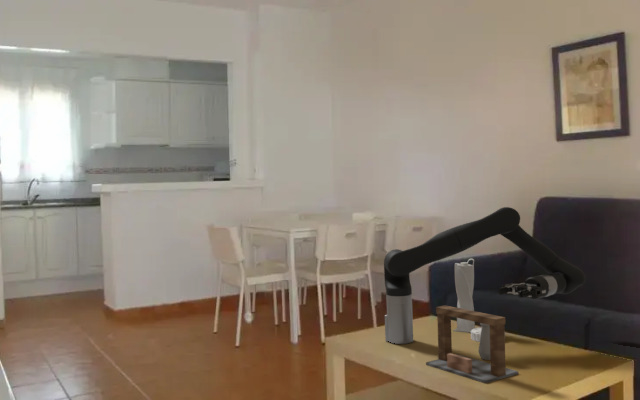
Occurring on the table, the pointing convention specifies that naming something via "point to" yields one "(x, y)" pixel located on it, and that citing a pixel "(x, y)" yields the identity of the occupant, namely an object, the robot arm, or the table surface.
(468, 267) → the skyscraper
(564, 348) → the table surface
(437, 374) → the table surface
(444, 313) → the gateway
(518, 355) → the table surface
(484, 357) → the salt shaker
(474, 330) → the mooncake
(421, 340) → the table surface
